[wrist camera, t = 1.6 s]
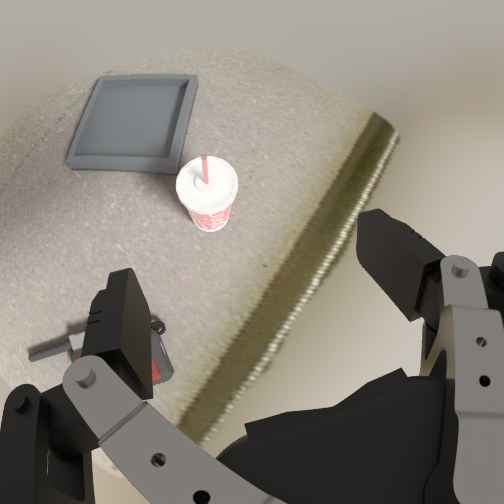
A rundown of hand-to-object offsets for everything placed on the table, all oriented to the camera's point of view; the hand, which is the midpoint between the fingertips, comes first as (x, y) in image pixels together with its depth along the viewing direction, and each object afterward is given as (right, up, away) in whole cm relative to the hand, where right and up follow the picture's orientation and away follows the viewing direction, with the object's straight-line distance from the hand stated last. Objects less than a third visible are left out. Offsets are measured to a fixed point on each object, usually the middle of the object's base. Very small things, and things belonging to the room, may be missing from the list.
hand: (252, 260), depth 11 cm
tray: (-17, +19, +30) cm, 40 cm away
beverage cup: (-5, +5, +28) cm, 29 cm away
